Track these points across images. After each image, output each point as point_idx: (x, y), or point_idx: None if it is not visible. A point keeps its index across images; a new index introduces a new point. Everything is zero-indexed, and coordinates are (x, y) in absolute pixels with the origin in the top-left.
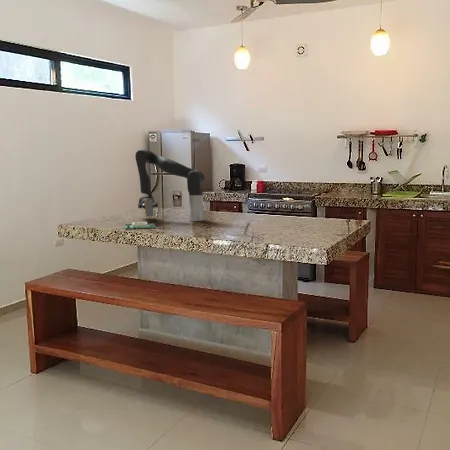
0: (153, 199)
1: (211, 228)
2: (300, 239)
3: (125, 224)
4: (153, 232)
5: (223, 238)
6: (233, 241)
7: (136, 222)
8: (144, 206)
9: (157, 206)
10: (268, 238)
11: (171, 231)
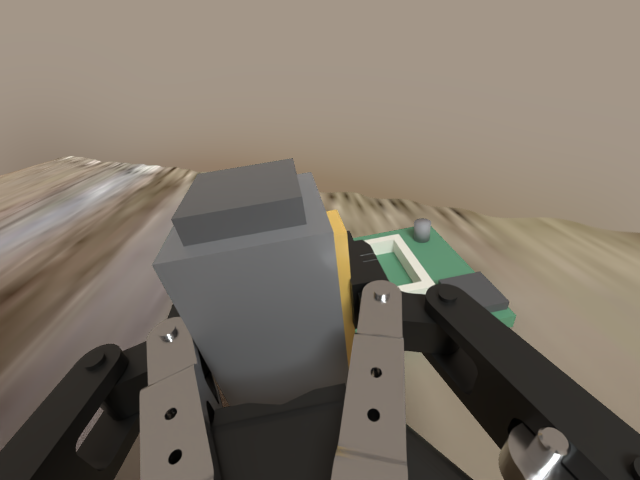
0: None
1: (24, 273)
2: (3, 187)
3: (477, 274)
4: None
5: (128, 180)
6: (131, 168)
7: (402, 285)
8: None
9: (99, 419)
10: (45, 187)
11: None
